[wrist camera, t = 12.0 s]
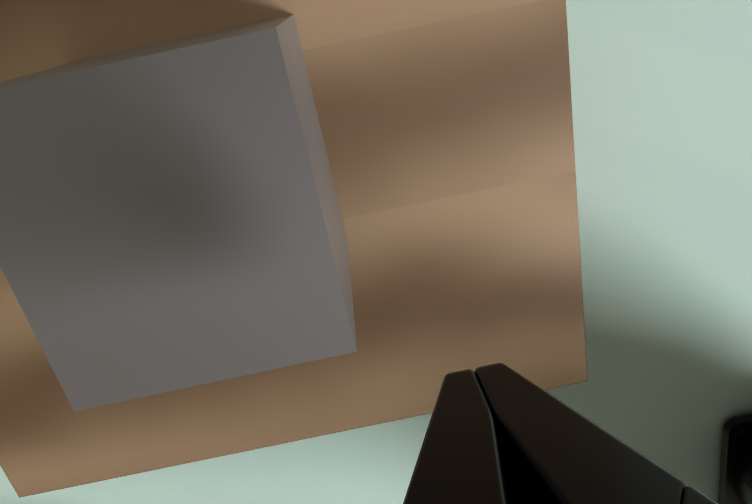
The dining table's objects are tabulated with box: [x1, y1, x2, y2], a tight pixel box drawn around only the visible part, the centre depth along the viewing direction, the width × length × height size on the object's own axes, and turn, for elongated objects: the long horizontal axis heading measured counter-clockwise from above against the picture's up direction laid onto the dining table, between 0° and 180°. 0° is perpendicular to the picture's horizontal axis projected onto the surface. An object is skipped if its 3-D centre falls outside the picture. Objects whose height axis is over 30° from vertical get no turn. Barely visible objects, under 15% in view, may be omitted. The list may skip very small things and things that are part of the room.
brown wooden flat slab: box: [0, 0, 587, 498], centre depth 18 cm, size 20×20×4 cm
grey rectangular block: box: [0, 14, 357, 412], centre depth 15 cm, size 6×6×8 cm
